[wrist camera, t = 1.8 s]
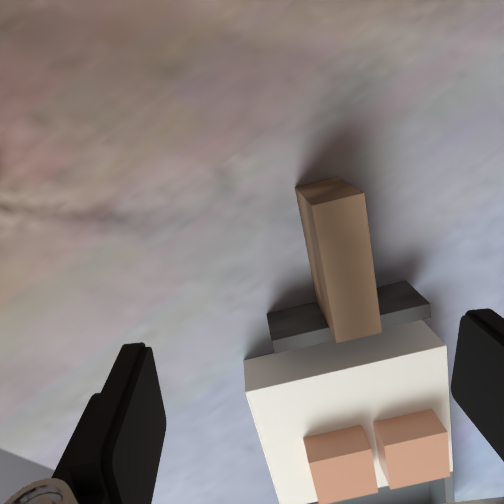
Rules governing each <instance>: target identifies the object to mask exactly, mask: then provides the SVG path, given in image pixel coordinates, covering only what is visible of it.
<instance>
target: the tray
mask: <svg viewBox="0 0 504 504" xmlns="http://www.w3.org/2000/svg"><path fill="white" fill-rule="evenodd" d="M453 502H455V500H454V481H453V471H451V472H450V477H446V478H441V479H437V480H432V481H428V482H423V483H419V484H414V485H410V486H405V487H401V488H396V489H392V490H390V488H389V485H388V486H384V487H379V488H378V493H374V494H369V495H365V496H360V497H356V498H351V499H347V500H342V501H338V502H333V503H329V504H444V503H453ZM308 504H319V503H318V501H317V502H312V503H308Z"/></svg>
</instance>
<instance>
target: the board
mask: <svg viewBox="0 0 504 504" xmlns="http://www.w3.org/2000/svg"><path fill="white" fill-rule="evenodd" d="M244 377H245V393H246V396H247V399H248V402H249V406H250V409H251V412H252V415H253V418H254V422H255V425H256V428H257V431H258V435H259V438H260V441H261V444H262V448H263V451H264V454H265V457H266V461H267V464H268V467H269V470H270V474H271V477H272V480H273V483H274V487H275V490H276V493H277V496H278V499H279V503H280V504H308V503H312V502H317V501H318V499H317V495H316V491H315V487H314V483H313V479H312V475H311V471H310V467H309V463H308V459H307V454H306V450H305V445H304V441H303V438H304V437H309V436H313V435H317V434H322V433H326V432H331V431H335V430H339V429H344V428H348V427H353V426H357V425H361V426H362V428H363V430H364V433H365V435H366V437H367V440H368V442H369V444H370V447H371V449H372V455H373V462H374V468H375V474H376V480H377V486H378V488H379V487H384V486H388V483H387V481H386V478H385V476H384V474H383V471H382V469H381V467H380V464H379V459H378V453H377V446H376V440H375V433H374V427H373V422H375V421H379V420H383V419H388V418H392V417H396V416H401V415H405V414H410V413H414V412H418V411H423V410H427V409H432V410H433V411H434V413H435V414H436V415H437V417H438V418H439V420H440V421H441V423H442V424H443V426H444V427H445V428H446V430H447V431H448V444H449V462H450V472H451V471H453V462H452V443H451V424H450V404H449V385H448V366H447V347H446V345H445V344H444V342H443V341H442V340H441V339H440V338H439V337H438V336H437V335H436V334H435V333H434V332H433V331H432V330H431V329H430V328H429V326H428V325H427V324H426V323H425V322H424V321H423V320H417V321H413V322H409V323H405V324H400V325H396V326H392V327H388V328H383V329H382V333H378V334H373V335H369V336H365V337H361V338H356V339H352V340H348V341H344V342H339V343H336V341H335V340H332V341H328V342H324V343H320V344H315V345H311V346H307V347H303V348H298V349H294V350H290V351H286V352H281V353H277V354H275V353H273V354H268V355H264V356H260V357H256V358H251V359H247V360H244Z"/></svg>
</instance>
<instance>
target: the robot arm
mask: <svg viewBox="0 0 504 504" xmlns="http://www.w3.org/2000/svg"><path fill="white" fill-rule="evenodd" d="M451 392H452V395H453V398H454V399H455V401H456V402H457V403H458V405H459V406H460V407H461V408H462V410H463V411H464V412H465V413H466V415H467V416H468V417H469V418H470V420H471V421H472V422H473V423H474V425H475V426H476V427H477V428H478V430H479V431H480V432H481V433H482V435H483V436H484V437H485V438H486V440H487V441H488V442H489V444H490V445H491V446H492V447H493V449H494V450H495V451H496V452H497V454H498V455H499V456H500V457H501V459H502V460H503V461H504V318H502V317H501V316H500V315H498V314H497V313H496V312H494V311H493V310H491V309H477V310H469V311H467V312H466V314H465V316H462V318H461V320H460V326H459V333H458V340H457V347H456V354H455V361H454V368H453V375H452V382H451ZM165 432H166V415H165V410H164V405H163V400H162V396H161V391H160V386H159V381H158V376H157V371H156V366H155V361H154V357H153V352H152V348H151V347H145V344H144V343H143V342H142V343H132V344H124V345H123V346H122V348H121V350H120V352H119V354H118V356H117V359H116V361H115V363H114V365H113V367H112V369H111V372H110V374H109V376H108V378H107V380H106V382H105V385H104V387H103V389H102V391H101V393H95V394H94V395H92V397H91V398H90V400H89V402H88V404H87V406H86V408H85V410H84V412H83V414H82V416H81V418H80V420H79V422H78V424H77V427H76V429H75V431H74V433H73V435H72V437H71V439H70V441H69V443H68V445H67V447H66V449H65V451H64V453H63V455H62V457H61V459H60V461H59V463H58V465H57V467H56V470H55V472H54V474H53V476H52V478H48V479H47V478H46V479H43V480H39V481H36V482H33V483H31V484H30V485H27V486H26V487H24V488H22V489H21V490H19V491H18V492H17V493H15V494H14V495H13V496H11V497H10V498H9V499H8V500H7V501H6V503H4V504H151V502H152V497H153V492H154V487H155V482H156V477H157V472H158V467H159V462H160V457H161V452H162V447H163V442H164V437H165ZM444 504H504V497H499V498H490V499H480V500H471V501H462V502H453V503H444Z"/></svg>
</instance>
